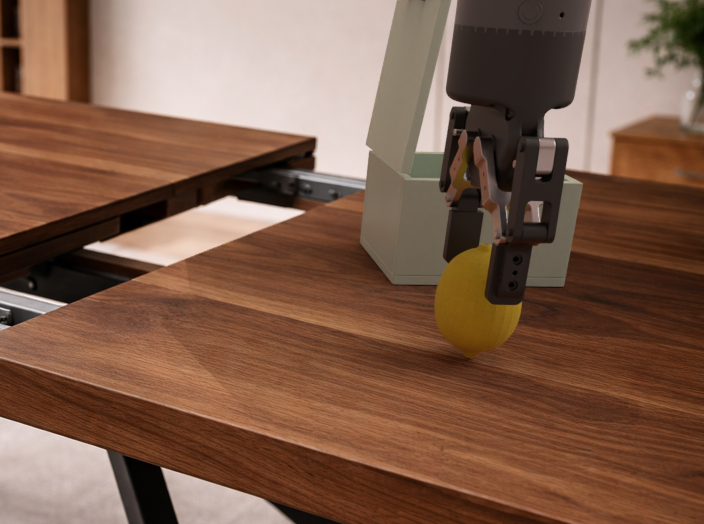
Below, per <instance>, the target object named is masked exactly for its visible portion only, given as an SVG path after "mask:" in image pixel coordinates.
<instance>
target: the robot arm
mask: <svg viewBox="0 0 704 524" xmlns="http://www.w3.org/2000/svg"><path fill="white" fill-rule="evenodd" d="M592 1H593V0H456V7H455V8H456V9H455V15H454V22H453V32H452V39H451V47H450V53H449V60H448V69H447V77H446V83H445V93H446V96H447V97H448V98H449V99H451V100H452V101H454V102H458V103H460V104H461V103H462V104H466V105H463V106H459V105H458V106H456V105H455V106H452V107H451V110H450V112H449V116H448V125H447V131H446V138H445V144H444V151H443V152H444V156H443V163H442V169H441V175H440V181H439V189H440V192H441V193H447V194H446V197H445V201H446V206H447V207H452V209H451V210H449V215H448V222H447V229H446V236H445V243H444V250H443V258H444V260H445V261H446V262H447V263H450V261H451V260H452V259H453V258H455V257H456V256H457V255H459V254H460V253H462V252H464V251H467V250H469V249H473V248H477V247H478V246H479V242H480V236H481V229H482V223H483V216H484V212H482V211H481V210H478V208H484V209H485V210H487V211H489V212H490V213H491V217H492V228H493V238H494V243H492V249H491V256H490V262H489V268H488V274H487V281H486V287H485V293H484V295H485V298H486V299H487V300H488V301H489V302H490V303H491V304H493V305H518V304H520V303H521V302H522V303H523V301H524V297H525V292H526V287H527V286H526V281H527V276H528V270H529V264H530V259H531V253H532V247H533V246H538V245H539V244H541V243H548V244H551V243H552V242H553V241H554V239H555V235H556V228H557V222H558V215H559V209H560V202H561V196H562V190H563V183H564V177H565V175H566V170H567V164H568V157H569V150H570V143H569V139H568V138H566V137H548V136H547V137H546V136H545V116H546V114H547V113H548V112H549V111H550V110H561V109H565V108H567V107H569V106H570V105H572V103H573V102H574V100H575V96H576V91H577V84H578V79H579V74H580V68H581V63H582V57H583V52H584V46H585V41H586V36H587V29H588V24H589V18H590V13H591V7H592ZM468 105H469V106H468ZM542 204H543V208H542V215H541V222H540V217H539V207H540V206H541V205H542ZM507 211H509V214H508V219H507Z"/></svg>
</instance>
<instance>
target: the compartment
mask: <svg viewBox="0 0 704 524" xmlns="http://www.w3.org/2000/svg"><path fill="white" fill-rule="evenodd" d="M443 156H444V151H416V152H415V156H414V160H413V164H412V168H411V173H410V174H404V173H401V172H399V171H398V170H397V169H395V168H394V167H393V166H392V165H390V164H389V163H388V162H387V161H385V160H384V159H383V158H382V157H380V156H379V155H378V154H377V153H375V152H374V151H373V150H372V149H370V150H369V151H368V157H367V165H366V167H367V168H366V177H365V187H364V195H363V196H364V197H363V207H362V217H361V227H360V237H359V244H360V245H361V247H362V248H363V249H364V250H365V252H366V253H367V254H368V256H370V258H371V259H372V260H373V262H374V263H375V264H376V265H377V267H378V268H379V269H380V271H382V273H383V274H384V275H385V277H386V278H387V279H388V281H389V282H390V283H391V284H392V285H393V286H394V285H396V286H397V285H398V286H399V285H400V286H402V285H405V286H408V285H409V286H414V285H415V286H438V283H439V280H440V278H441V275H442V273H443V271H444V270H445V268H446V266H447V265H448V264H449V263H447V262H446V261H445V260H444V258H443V250H444V243H445V236H446V229H447V222H448V215H449V210H451V209H452V207H447V206H446V201H445V197H446V194H447V193H441V192H440V189H439V181H440V175H441V169H442V163H443ZM583 185H584V183H583V182H581V181H579V180H578V179H575V178H573V177H571V176H569V175H567V174H565V177H564V183H563V190H562V196H561V202H560V209H559V215H558V222H557V228H556V235H555V239H554V241H553V242H552V243H551V244H548V243H541V244H539V245H538V246H533V247H532V253H531V259H530V264H529V270H528V276H527V281H526V287H541V288H544V287H545V288H546V287H547V288H565V283H566V277H567V272H568V267H569V261H570V256H571V250H572V246H573V241H574V240H573V239H574V234H575V230H576V224H577V223H576V222H577V218H578V212H579V209H580V208H579V207H580V203H581V197H582V191H583ZM542 208H543V204H542V205H541V206H540V207H539V217H540V222H541V215H542ZM478 210H481V211H482V212H484V216H483V223H482V229H481V236H480V242H479V245H481V244H483V243H486V244H491V245H492V243H494V238H493V228H492V217H491V213H490V212H489V211H487V210H485V209H484V208H478ZM508 214H509V211H507V219H508Z"/></svg>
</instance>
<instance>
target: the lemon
mask: <svg viewBox="0 0 704 524" xmlns="http://www.w3.org/2000/svg"><path fill="white" fill-rule="evenodd" d="M491 249H492V245H491V244H486V243H483V244H481V245H479V246H478V247H477V248H473V249H469V250H467V251H464V252H462V253H460V254H459V255H457V256H456V257H455V258H453V259H452V260H451V261H450V263H449V264H448V265H447V266H446V268H445V270H444V271H443V273H442V275H441V278H440V280H439V283H438V285H436V290H435V295H434V302H433V305H434V307H433V308H434V318H435V323H436V327H437V329H438V331H439V333H440V334H441V336H442V337H443V338H444V340H446V342H447V343H448V344H450V345H451V346H452V347H454V348H456V349H458V350H459V351H460V352H461V354H462V355H463V356H464V358H466V359H475V358H477V357H478V356H479V355H480V354H481V353H486V352H490V351H492V350H494V349H497V348H499V347H500V346H502V345H503V344H504V343H505V342H507V340H509V338H510V337H511V336H512V335H513V334H514V331H515V330H516V328H517V325H518V323H519V321H520V318H521V314H522V313H521V312H522V307H523V301H522V302H521V303H520V304H518V305H493V304H491V303H490V302H489V301H488V300H487V299H486V298H485V295H484V293H485V287H486V281H487V274H488V268H489V262H490V256H491Z"/></svg>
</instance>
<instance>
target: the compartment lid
mask: <svg viewBox="0 0 704 524" xmlns="http://www.w3.org/2000/svg"><path fill="white" fill-rule="evenodd" d="M451 3H452V0H396V2H395V7H394V12H393V15H392V20H391V25H390V30H389V35H388V39H387V44H386V48H385V51H384V52H385V53H384V57H383V62H382V67H381V72H380V76H379V81H378V85H377V90H376V94H375V99H374V104H373V107H372V112H371V116H370V117H371V118H370V121H369V125H368V126H369V127H368V131H367V136H366V140H365V146H367V147H368V148H370V150H372V151H374V152H375V153H377V154H378V155H379V156H380V157H382V158H383V159H384V160H385V161H387V162H388V163H389V164H390V165H392V166H393V167H394V168H395V169H397V170H398V171H399V172H401V173H404V174H410V173H411V168H412V164H413V160H414V156H415V152H417V147H418V143H419V139H420V136H421V130H422V125H423V122H424V117H425V113H426V109H427V106H428V105H427V104H428V101H429V97H430V93H431V88H432V84H433V79H434V76H435V73H436V67H437V64H438V59H439V54H440V50H441V46H442V42H443V37H444V33H445V29H446V25H447V20H448V16H449V12H450V8H451Z"/></svg>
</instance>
